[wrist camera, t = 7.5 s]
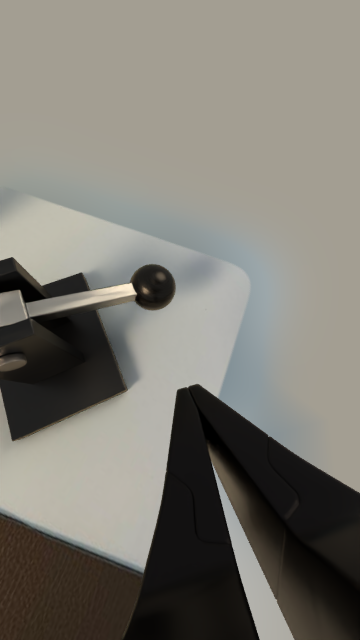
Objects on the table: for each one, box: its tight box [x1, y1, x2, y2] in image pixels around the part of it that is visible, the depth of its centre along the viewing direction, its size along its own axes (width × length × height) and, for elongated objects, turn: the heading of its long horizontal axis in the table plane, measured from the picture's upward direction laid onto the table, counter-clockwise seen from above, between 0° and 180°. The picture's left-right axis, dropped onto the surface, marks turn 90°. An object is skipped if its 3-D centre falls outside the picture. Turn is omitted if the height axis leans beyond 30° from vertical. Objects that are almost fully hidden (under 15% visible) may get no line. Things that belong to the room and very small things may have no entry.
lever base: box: [0, 257, 128, 441], centre depth 17 cm, size 9×12×10 cm
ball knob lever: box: [0, 264, 176, 328], centre depth 17 cm, size 13×4×4 cm, turn 115°
